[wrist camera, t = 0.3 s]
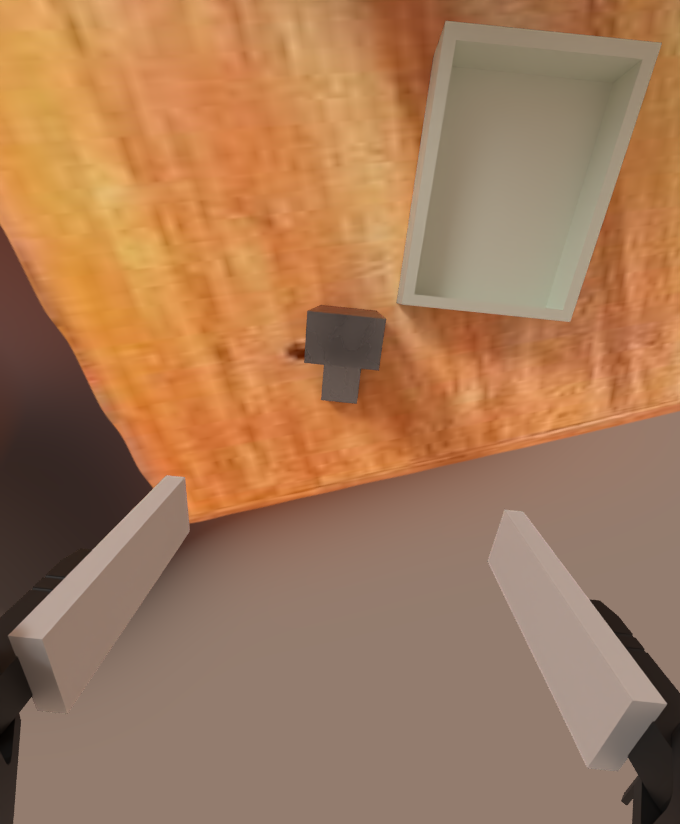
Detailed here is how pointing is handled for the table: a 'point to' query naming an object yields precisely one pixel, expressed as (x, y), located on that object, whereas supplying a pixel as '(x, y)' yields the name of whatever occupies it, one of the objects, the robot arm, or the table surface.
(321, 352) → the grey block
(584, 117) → the tray
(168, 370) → the table surface
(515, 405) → the table surface
